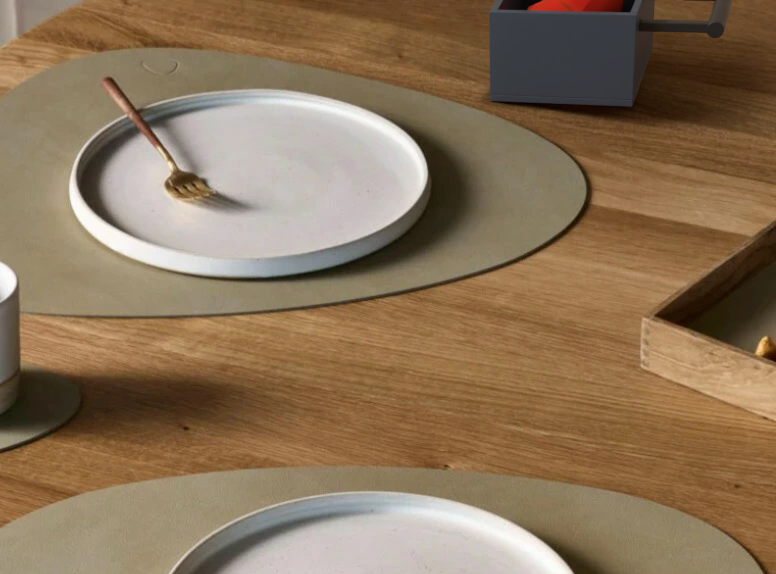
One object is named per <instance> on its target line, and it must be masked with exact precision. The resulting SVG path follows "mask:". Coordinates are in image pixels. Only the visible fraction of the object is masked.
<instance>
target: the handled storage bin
mask: <svg viewBox="0 0 776 574" xmlns="http://www.w3.org/2000/svg"><path fill="white" fill-rule="evenodd" d="M541 1H542V0H495V1H494V3H493V4H492V6H491V8H490V10H489V12H488V32H489V33H488V37H489V39H488V40H489V41H488V43H489V100H490V102H504V103H505V102H506V103H529V104H531V103H532V104H554V105H583V106H602V107H603V106H605V107H606V106H607V107H629V108H631V107H633V106H634V103H635V100H636V98H637V95H638V92H639V89H640V86H641V83H642V81H643V78H644V76H645V73H646V69H647V66H648V65H649V61H650V59H651V55H652V53H653V40H654V33H687V34H689V33H691V34H692V33H693V34H707V36H708V37H709V38H712V39H718V38H720V37H722V36H723V35H724V32H725V29H726V25H727V22H728V18H729V13H730V11H731V7H732V3H733V0H684V1H685V2H687V1H689V2H695V1H696V2H713V6H712V9H711V12H710V15H709V19H708V20H696V19H695V20H692V19H691V20H690V19H655V4H656V0H626V1H625V4H624V8H623V9H622V11H621V12H584V11H536V10H527V9H528V7H529V6H532V5H534V4H536V3H539V2H541Z"/></svg>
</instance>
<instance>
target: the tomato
mask: <svg viewBox="0 0 776 574" xmlns="http://www.w3.org/2000/svg"><path fill="white" fill-rule="evenodd" d="M625 1H626V0H542V1H541V2H539V3H536V4H534V5H532V6H529V7H528V9H527V10H536V11H584V12H621V11H622V9H623V8H624V4H625Z"/></svg>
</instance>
